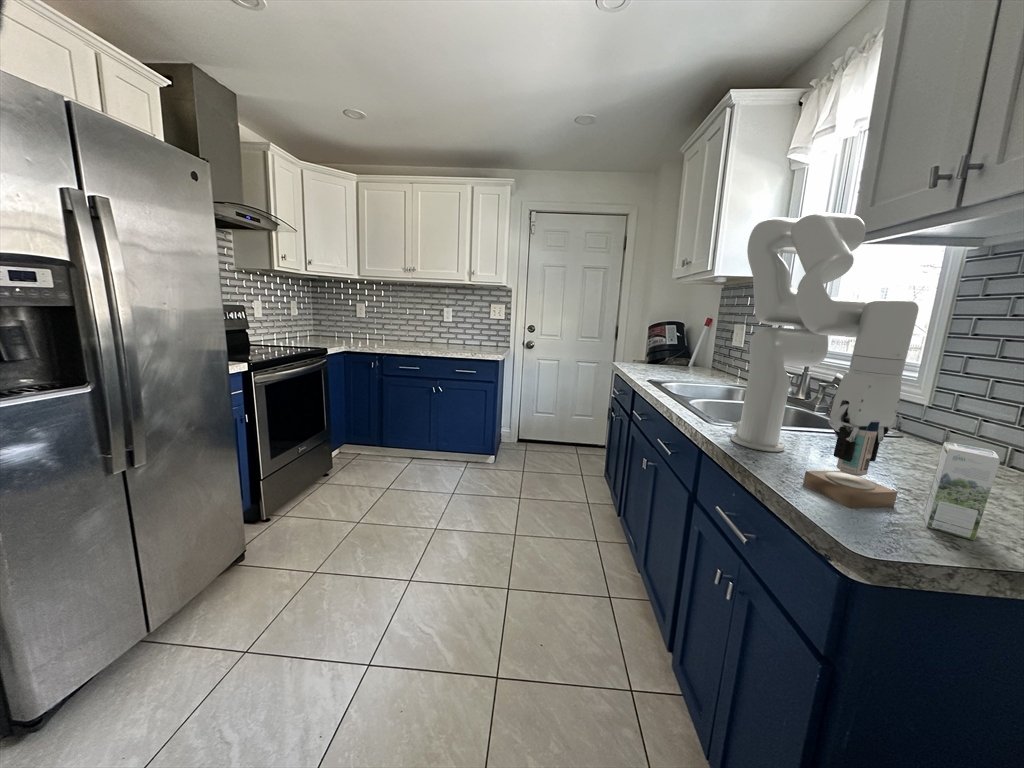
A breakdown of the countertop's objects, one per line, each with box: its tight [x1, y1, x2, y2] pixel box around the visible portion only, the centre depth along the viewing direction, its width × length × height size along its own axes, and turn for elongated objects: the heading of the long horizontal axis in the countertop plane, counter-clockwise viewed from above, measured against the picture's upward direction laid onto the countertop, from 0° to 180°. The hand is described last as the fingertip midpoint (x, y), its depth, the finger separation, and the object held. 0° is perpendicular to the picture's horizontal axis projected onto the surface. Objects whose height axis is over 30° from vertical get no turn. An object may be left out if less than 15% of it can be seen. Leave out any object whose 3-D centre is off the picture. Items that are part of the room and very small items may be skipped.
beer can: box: [836, 420, 880, 477], centre depth 78 cm, size 5×5×12 cm
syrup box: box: [923, 441, 1001, 541], centre depth 68 cm, size 6×6×14 cm
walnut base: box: [802, 470, 898, 509], centre depth 80 cm, size 10×10×3 cm
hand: (854, 458), depth 79 cm, fingers closed on beer can, 4 cm apart
